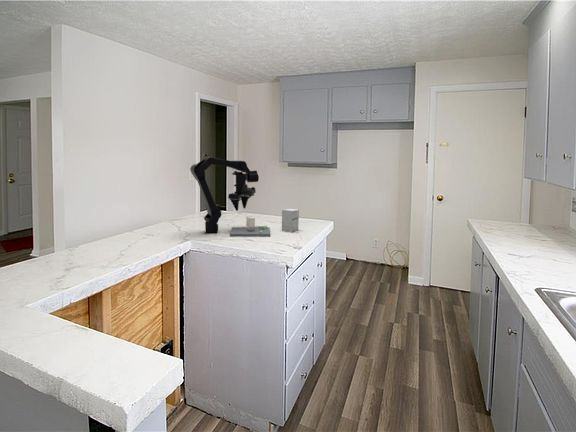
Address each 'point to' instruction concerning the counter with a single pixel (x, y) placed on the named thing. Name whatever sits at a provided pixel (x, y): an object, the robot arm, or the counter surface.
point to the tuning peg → (251, 223)
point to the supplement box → (290, 220)
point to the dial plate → (250, 232)
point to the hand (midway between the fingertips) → (240, 209)
